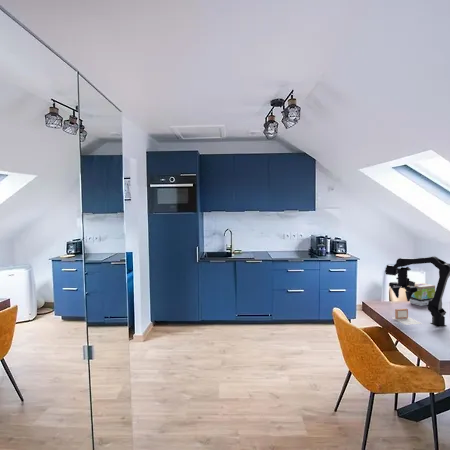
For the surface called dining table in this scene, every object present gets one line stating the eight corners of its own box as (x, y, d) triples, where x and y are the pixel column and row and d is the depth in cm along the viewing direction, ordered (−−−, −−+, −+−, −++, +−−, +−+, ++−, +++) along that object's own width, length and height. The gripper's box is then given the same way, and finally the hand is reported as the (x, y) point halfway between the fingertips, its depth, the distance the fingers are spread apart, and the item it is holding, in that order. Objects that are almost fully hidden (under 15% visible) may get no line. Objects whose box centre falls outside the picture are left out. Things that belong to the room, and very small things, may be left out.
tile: (408, 318, 210) (408, 309, 210) (396, 318, 209) (396, 309, 209) (406, 317, 212) (406, 308, 212) (395, 318, 211) (395, 309, 211)
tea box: (421, 306, 237) (421, 287, 237) (409, 303, 247) (409, 284, 246) (435, 304, 243) (435, 285, 242) (423, 300, 252) (423, 282, 252)
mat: (423, 324, 199) (423, 323, 199) (405, 325, 198) (405, 324, 198) (407, 317, 213) (407, 316, 213) (391, 318, 212) (391, 317, 212)
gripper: (424, 278, 206) (424, 301, 206) (401, 273, 224) (401, 295, 224) (410, 279, 203) (410, 303, 203) (388, 274, 221) (388, 296, 221)
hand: (402, 299), depth 213 cm, fingers open, 9 cm apart
